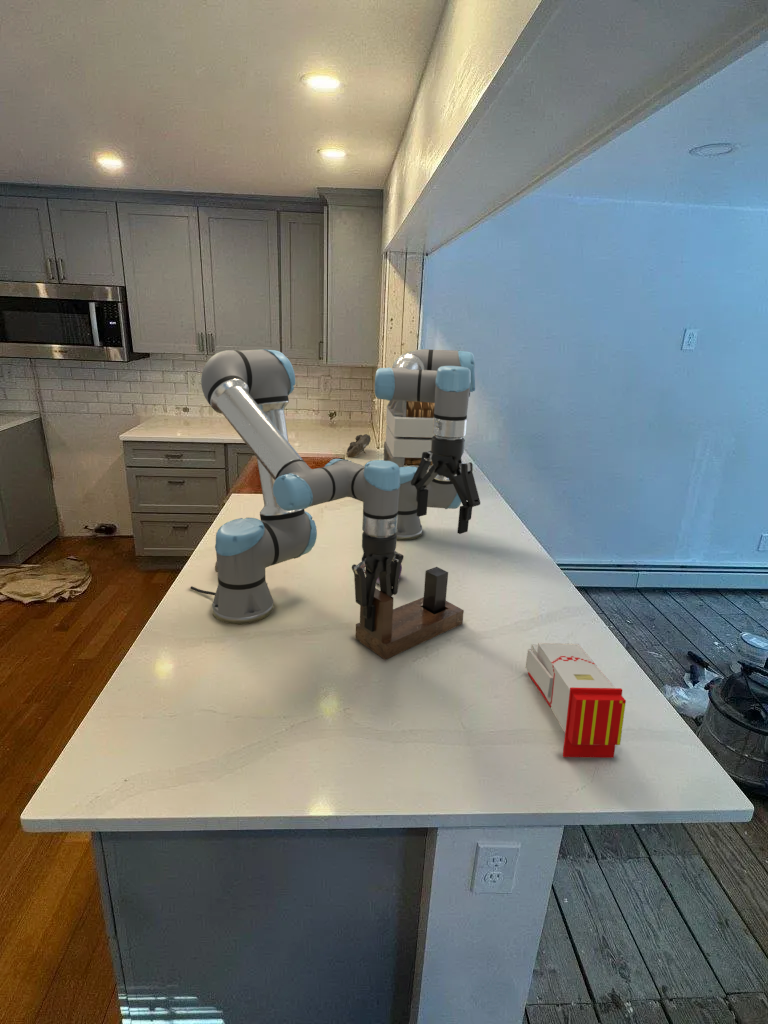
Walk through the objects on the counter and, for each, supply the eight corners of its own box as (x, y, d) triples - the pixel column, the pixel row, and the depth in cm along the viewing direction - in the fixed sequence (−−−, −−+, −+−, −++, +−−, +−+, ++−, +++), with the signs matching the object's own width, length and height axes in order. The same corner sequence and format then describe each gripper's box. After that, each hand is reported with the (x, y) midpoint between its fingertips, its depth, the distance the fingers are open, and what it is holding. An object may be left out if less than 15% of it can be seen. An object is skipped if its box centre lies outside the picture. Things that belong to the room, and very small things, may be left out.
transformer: (382, 463, 289) (386, 382, 275) (445, 464, 293) (451, 384, 279) (390, 482, 257) (394, 392, 243) (460, 483, 261) (468, 394, 247)
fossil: (346, 440, 316) (367, 425, 311) (357, 453, 319) (378, 438, 314) (340, 453, 296) (362, 438, 291) (351, 468, 299) (374, 452, 294)
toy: (573, 626, 127) (635, 696, 97) (567, 680, 129) (626, 765, 100) (519, 624, 126) (566, 695, 97) (515, 680, 129) (558, 764, 100)
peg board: (355, 638, 136) (356, 586, 131) (431, 606, 152) (435, 559, 147) (385, 660, 128) (387, 605, 123) (462, 624, 144) (467, 574, 139)
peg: (421, 620, 145) (425, 570, 140) (432, 615, 148) (436, 566, 143) (432, 626, 142) (437, 576, 138) (443, 621, 145) (448, 572, 140)
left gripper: (361, 546, 115) (358, 645, 123) (418, 529, 125) (412, 622, 133) (339, 534, 121) (337, 630, 129) (395, 519, 131) (390, 609, 139)
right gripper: (399, 428, 135) (395, 511, 143) (479, 449, 118) (470, 543, 125) (422, 425, 140) (416, 506, 147) (502, 445, 122) (492, 536, 130)
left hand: (375, 626), depth 131 cm, fingers closed on peg board, 3 cm apart
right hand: (441, 523), depth 136 cm, fingers open, 13 cm apart
